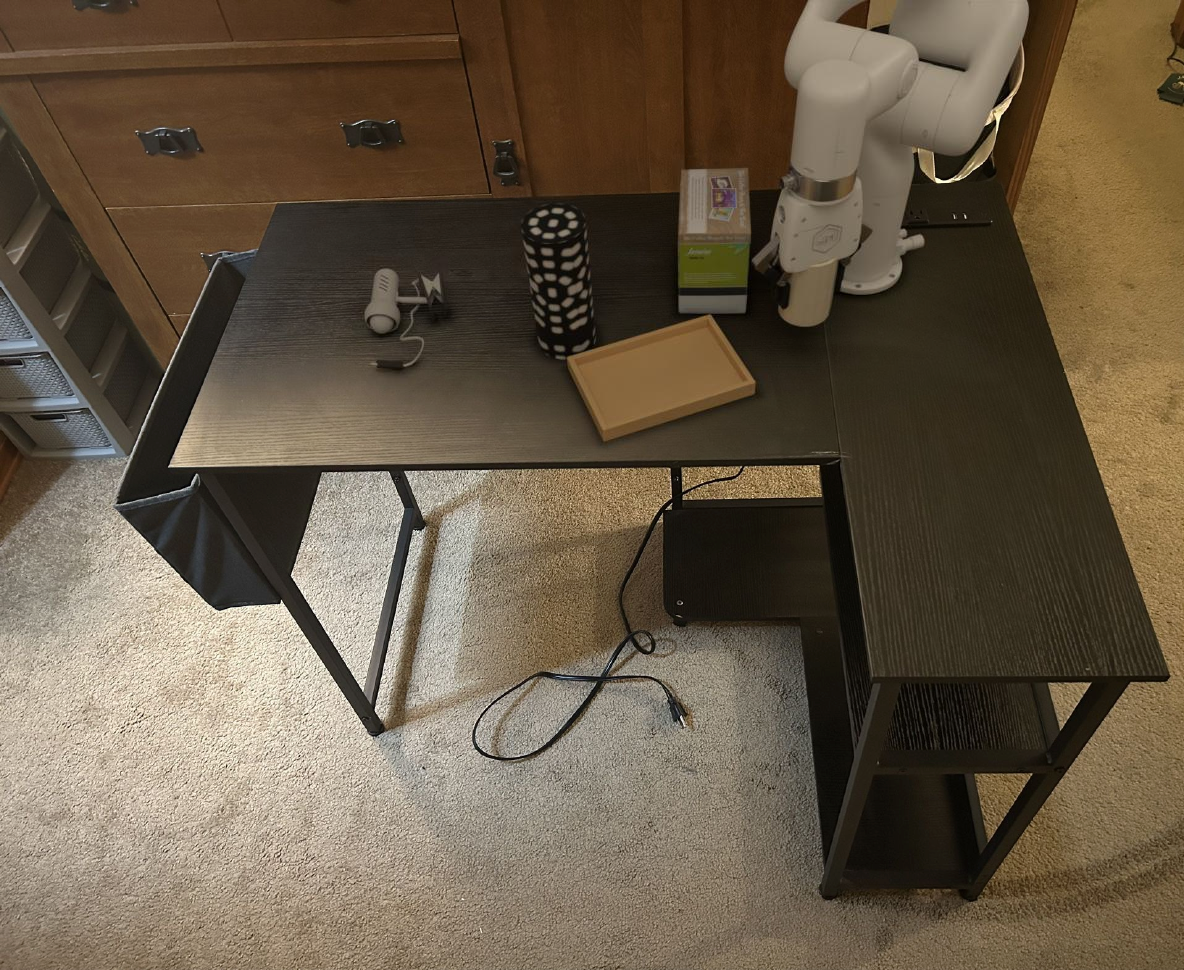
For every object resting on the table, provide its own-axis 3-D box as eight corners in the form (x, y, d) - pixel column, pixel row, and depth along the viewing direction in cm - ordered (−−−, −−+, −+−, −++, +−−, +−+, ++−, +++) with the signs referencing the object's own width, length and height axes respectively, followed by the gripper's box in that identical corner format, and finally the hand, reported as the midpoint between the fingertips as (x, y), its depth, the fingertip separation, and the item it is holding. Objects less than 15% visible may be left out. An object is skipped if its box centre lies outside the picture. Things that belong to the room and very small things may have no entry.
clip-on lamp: (443, 383, 133) (451, 281, 140) (438, 359, 127) (446, 254, 135) (361, 382, 132) (373, 280, 140) (352, 358, 127) (365, 253, 134)
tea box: (679, 250, 143) (680, 166, 131) (744, 249, 142) (751, 165, 130) (676, 315, 134) (677, 231, 122) (746, 316, 133) (754, 231, 121)
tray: (709, 326, 132) (710, 313, 130) (754, 394, 124) (755, 382, 122) (567, 368, 129) (566, 357, 127) (603, 442, 120) (602, 430, 118)
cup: (814, 286, 124) (823, 225, 116) (839, 317, 120) (850, 257, 112) (769, 300, 123) (775, 240, 115) (792, 333, 119) (800, 272, 111)
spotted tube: (589, 362, 129) (578, 246, 114) (532, 356, 131) (513, 241, 115) (600, 322, 134) (591, 205, 118) (545, 317, 136) (529, 201, 120)
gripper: (767, 214, 102) (757, 332, 116) (907, 172, 104) (880, 292, 118) (738, 177, 106) (732, 295, 120) (873, 138, 108) (851, 258, 123)
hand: (806, 293), depth 119 cm, fingers closed on cup, 6 cm apart
